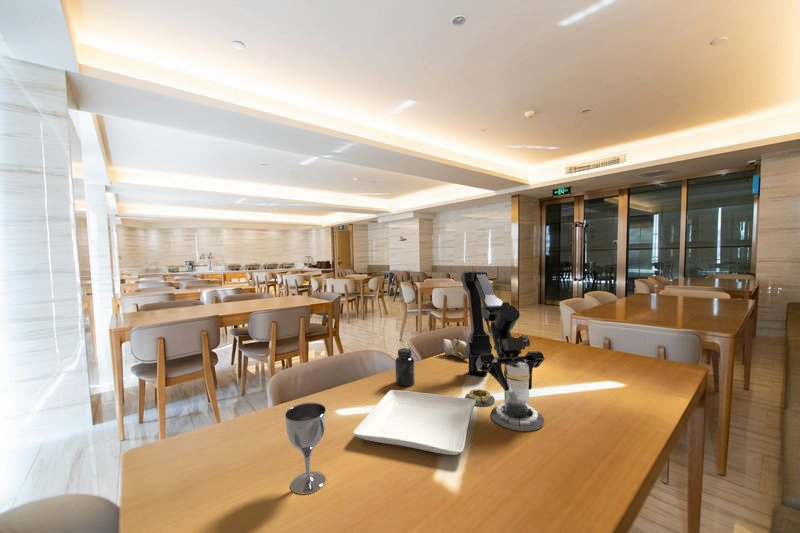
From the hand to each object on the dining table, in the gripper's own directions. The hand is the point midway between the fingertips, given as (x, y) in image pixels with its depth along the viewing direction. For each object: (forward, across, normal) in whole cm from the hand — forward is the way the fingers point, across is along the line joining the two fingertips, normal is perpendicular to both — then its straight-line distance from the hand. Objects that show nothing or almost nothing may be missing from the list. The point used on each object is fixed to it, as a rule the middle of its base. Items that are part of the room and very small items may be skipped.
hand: (518, 389), depth 92 cm
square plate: (+6, -28, +7) cm, 29 cm away
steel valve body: (+4, 0, +6) cm, 7 cm away
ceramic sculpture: (-32, -2, +46) cm, 56 cm away
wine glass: (+19, -54, -7) cm, 57 cm away
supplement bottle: (-14, -28, +27) cm, 42 cm away
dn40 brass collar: (-3, -6, +16) cm, 17 cm away
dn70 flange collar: (+5, 0, +7) cm, 9 cm away
